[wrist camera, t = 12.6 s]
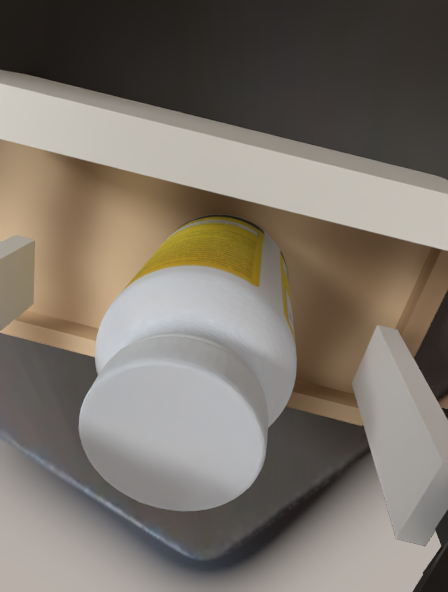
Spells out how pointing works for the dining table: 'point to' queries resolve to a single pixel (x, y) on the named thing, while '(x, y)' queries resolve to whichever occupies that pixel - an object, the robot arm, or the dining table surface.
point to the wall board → (224, 159)
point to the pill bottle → (193, 367)
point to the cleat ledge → (179, 210)
